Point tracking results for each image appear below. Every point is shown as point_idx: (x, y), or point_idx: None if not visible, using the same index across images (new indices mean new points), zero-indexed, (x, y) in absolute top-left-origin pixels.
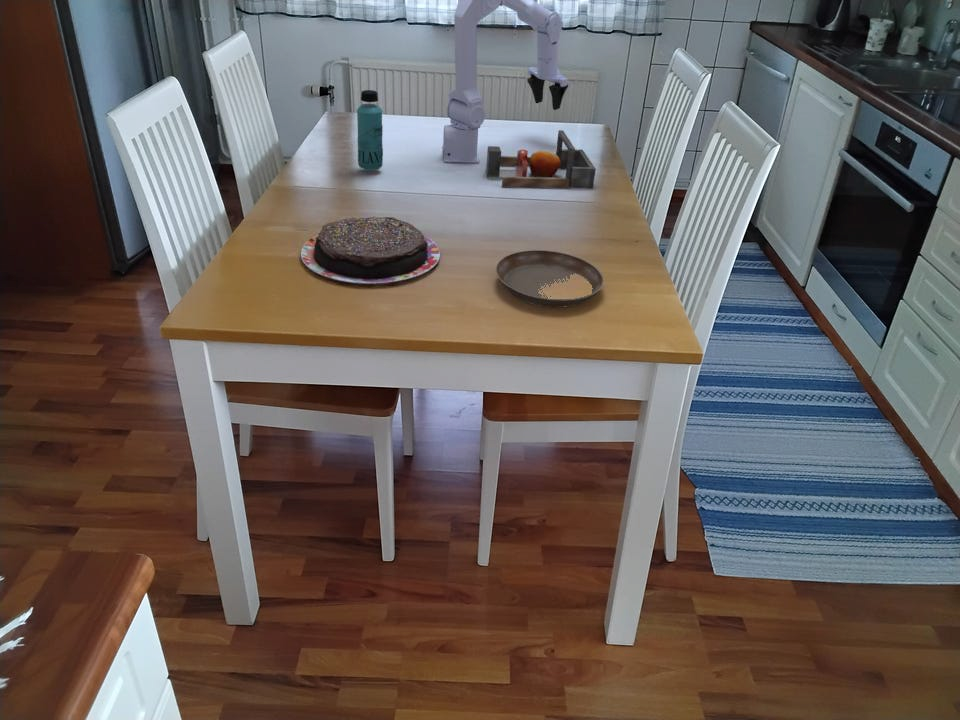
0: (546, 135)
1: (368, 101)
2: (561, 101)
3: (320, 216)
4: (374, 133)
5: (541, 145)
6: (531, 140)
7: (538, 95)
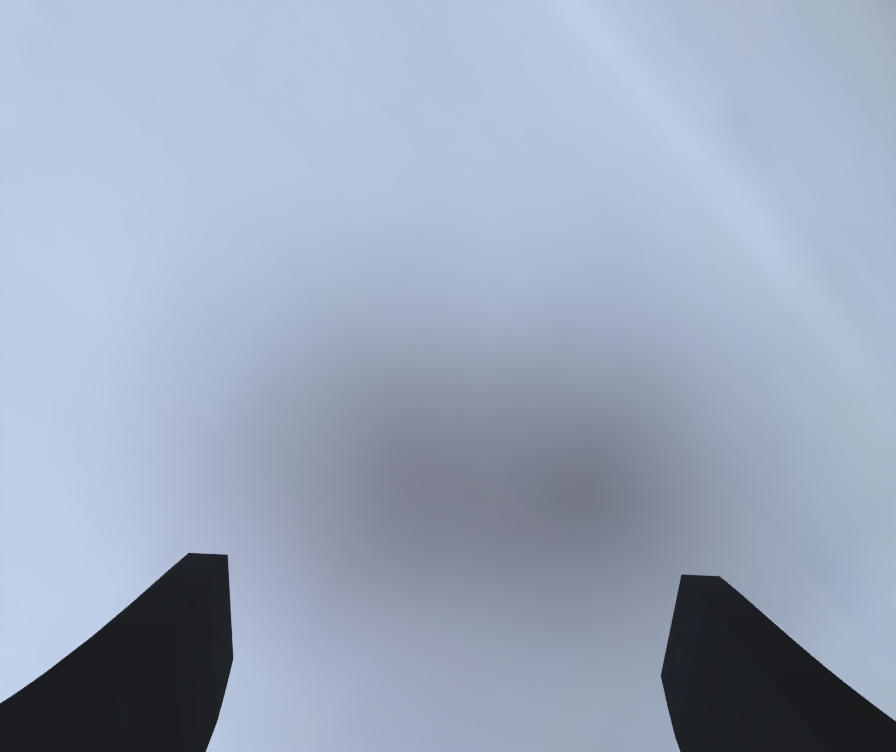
0: (289, 233)
1: None
2: (800, 648)
3: None
4: None
5: (511, 520)
6: (343, 495)
7: (183, 729)
